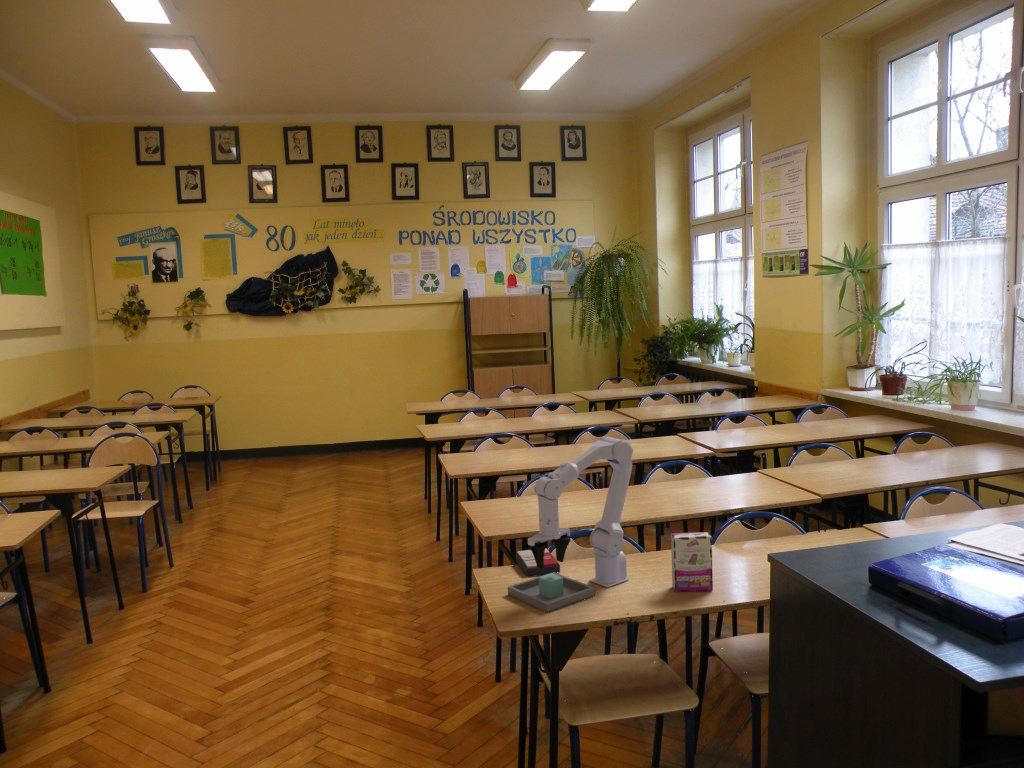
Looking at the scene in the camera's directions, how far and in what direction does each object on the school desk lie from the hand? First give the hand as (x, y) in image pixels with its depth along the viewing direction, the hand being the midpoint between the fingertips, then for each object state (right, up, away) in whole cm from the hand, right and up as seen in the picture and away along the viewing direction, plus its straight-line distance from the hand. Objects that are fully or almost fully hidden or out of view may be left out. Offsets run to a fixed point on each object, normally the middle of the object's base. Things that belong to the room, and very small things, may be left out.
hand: (550, 564), depth 223 cm
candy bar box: (+42, -8, +3) cm, 43 cm away
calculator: (-3, -8, +26) cm, 27 cm away
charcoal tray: (0, -9, +1) cm, 9 cm away
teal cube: (0, -9, +1) cm, 9 cm away
